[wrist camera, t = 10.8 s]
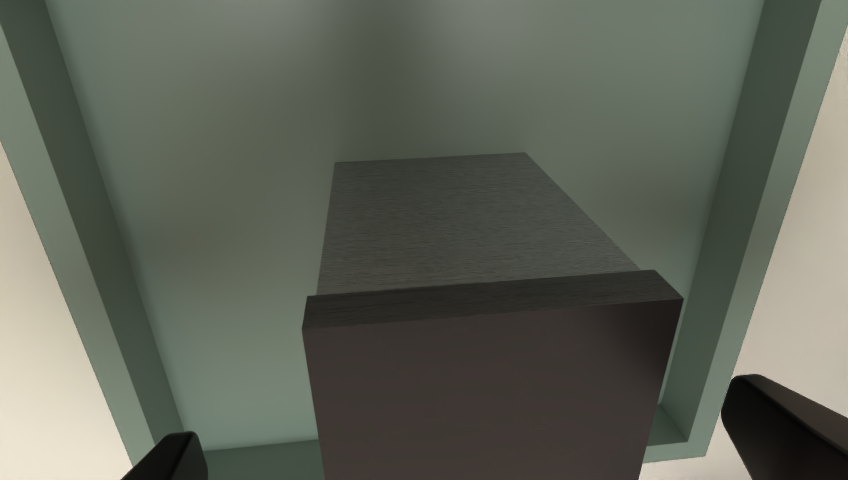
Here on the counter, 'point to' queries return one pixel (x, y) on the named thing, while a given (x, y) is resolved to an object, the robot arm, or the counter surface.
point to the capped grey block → (479, 328)
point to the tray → (383, 140)
